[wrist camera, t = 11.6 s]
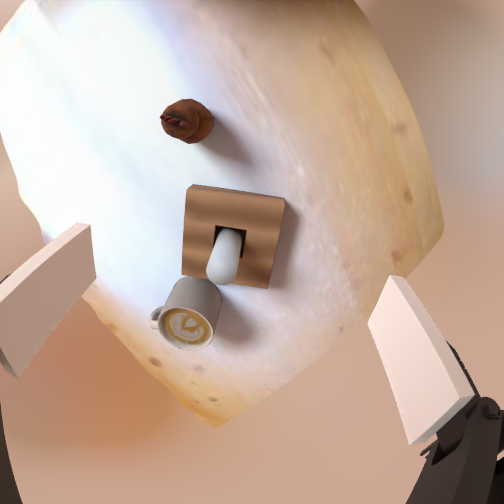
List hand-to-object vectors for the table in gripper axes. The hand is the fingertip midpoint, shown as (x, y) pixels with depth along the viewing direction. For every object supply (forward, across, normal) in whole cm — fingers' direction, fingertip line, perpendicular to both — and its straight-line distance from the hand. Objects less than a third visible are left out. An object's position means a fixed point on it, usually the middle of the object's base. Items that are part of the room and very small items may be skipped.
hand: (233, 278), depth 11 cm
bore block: (+35, -2, -13) cm, 37 cm away
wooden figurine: (+35, -10, +5) cm, 37 cm away
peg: (+34, -2, -13) cm, 36 cm away
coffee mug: (+35, -9, -28) cm, 46 cm away
